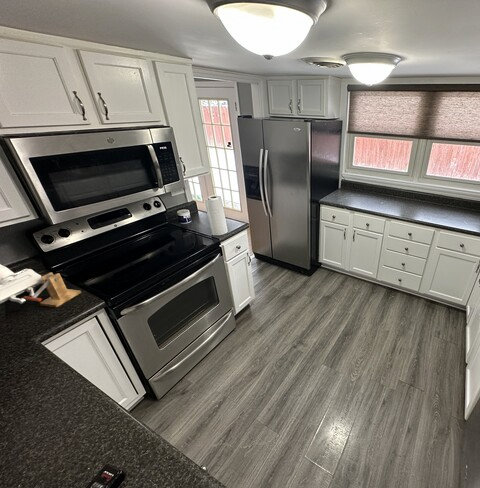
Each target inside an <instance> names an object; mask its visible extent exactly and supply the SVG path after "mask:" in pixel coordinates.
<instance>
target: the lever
mask: <svg viewBox="0 0 480 488" xmlns="http://www.w3.org/2000/svg"><path fill="white" fill-rule="evenodd" d="M53 275H54V274H53ZM53 275H49V276H48V277H47V278H46V280H47V281H46V282H45V283H44V284H42V285H41V286H40V288H39V289H37V291H35V292H34V293H35V294H34V295H33V296H32V297H29V296H28V295H27V296H26V295H25V296H23V297H22V298H24V299H25V300H26V301H31V302H42V300H43V298H41V297H38V296H39V295H40V294H41V293H42V292H43V291H44V290H45V289H46V286H47V285H48V284H49V283H50V281H49V279H48V278H49V277H51V276H53Z"/></svg>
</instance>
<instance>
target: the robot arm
mask: <svg viewBox="0 0 480 488" xmlns="http://www.w3.org/2000/svg"><path fill="white" fill-rule="evenodd" d="M41 277H42V276H41V275H39V273H37V272H36V271H34V270H33V269H32V268H23V269H22V270H18V271H16V272H14V271H12V269H10V268H9V267H7V266H5V265H2V263H0V304H3V303H5V302H7V301H8V300H9V301H11V302H14V303H15V302H16V303H19V304H20V305H22V304H25V303H26V302H27V300H25V299H24V298H23V297H21V298H19V297H17V296H19V295H21V294H23V293H25V292H27V293H29V292H30V293H29V295H28V297H32V296H33V295H34V294H35V293H36V292H35V291H33V287H35V286H36V287H38V286H39V285H42V284H41V283H42V282H43V281H42V279H41ZM36 287H35V288H36Z"/></svg>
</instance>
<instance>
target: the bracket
mask: <svg viewBox="0 0 480 488" xmlns="http://www.w3.org/2000/svg"><path fill="white" fill-rule="evenodd" d="M43 275H44V276H42V277H41V279H42V281H43V283H45V282H46V281H47V280H46V278H47V277H48V276H49V275H53V276H51V277H49V278H48V279H49V281H50V283H49V284H48V285H47V286H46V288H45V289H46V291H47V292H48V294H49V297H48V298H46V299H44V300H43V301H42V300H41V301H39V305H40V306H43V307H51V308H58V307H60V306H62V305H63V304H65V303H66V302H68V301H70V300H71V299H73V298H75V297H76V296H78V295H79V294H82V291H81V290H80V289H79V290H78V289H70V288H67V286H66V284H65V282H64V280H63V278H62V276H61V274H60V273H55V274H54V273H53V272H48V273H46V274H43Z"/></svg>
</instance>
